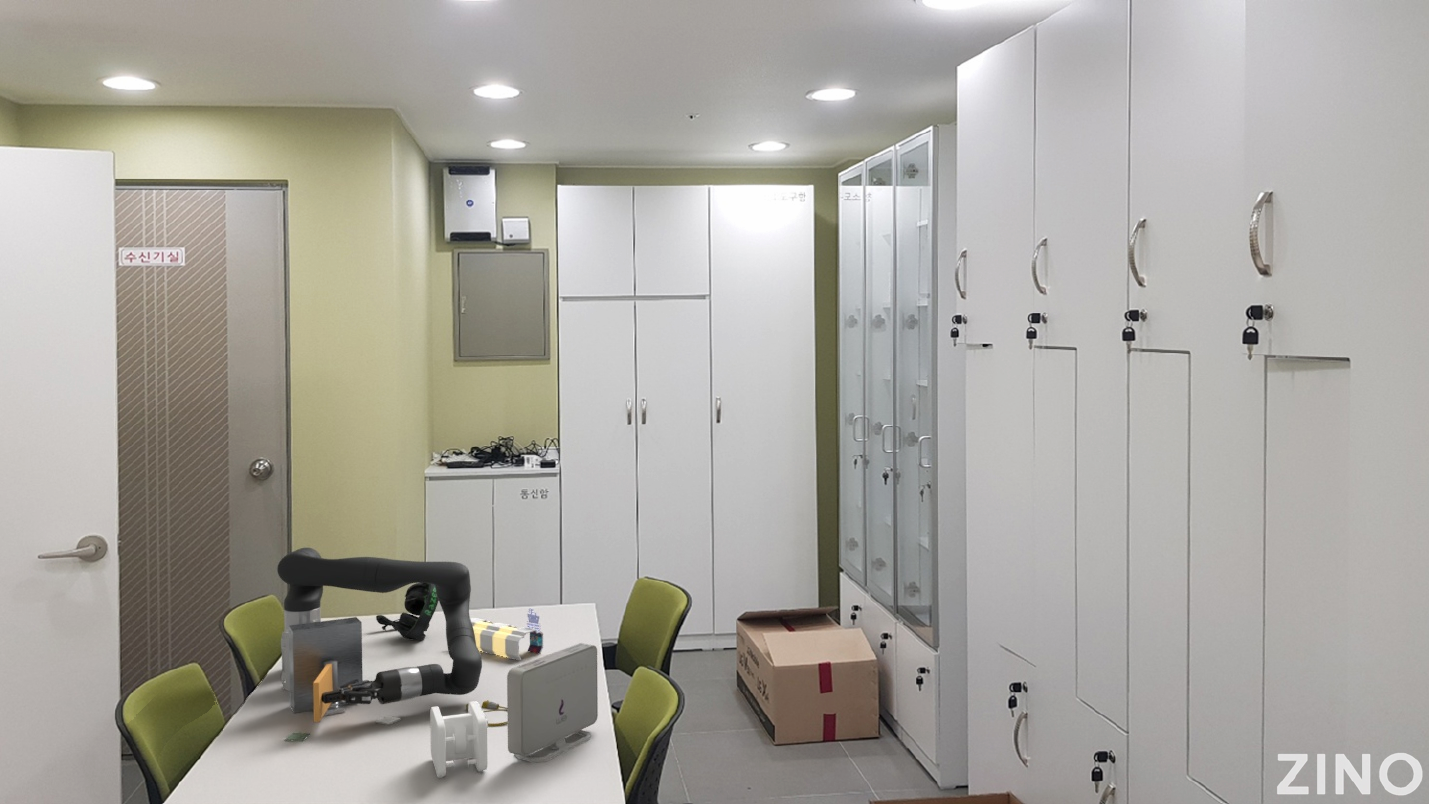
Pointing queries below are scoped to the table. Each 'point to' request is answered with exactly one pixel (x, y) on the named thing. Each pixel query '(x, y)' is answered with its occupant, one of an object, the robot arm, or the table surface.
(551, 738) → the network device
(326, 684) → the orange rectangular panel
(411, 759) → the table surface
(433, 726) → the cable organizer
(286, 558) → the robot arm
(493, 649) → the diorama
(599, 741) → the table surface
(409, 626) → the headset
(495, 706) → the extension cord
